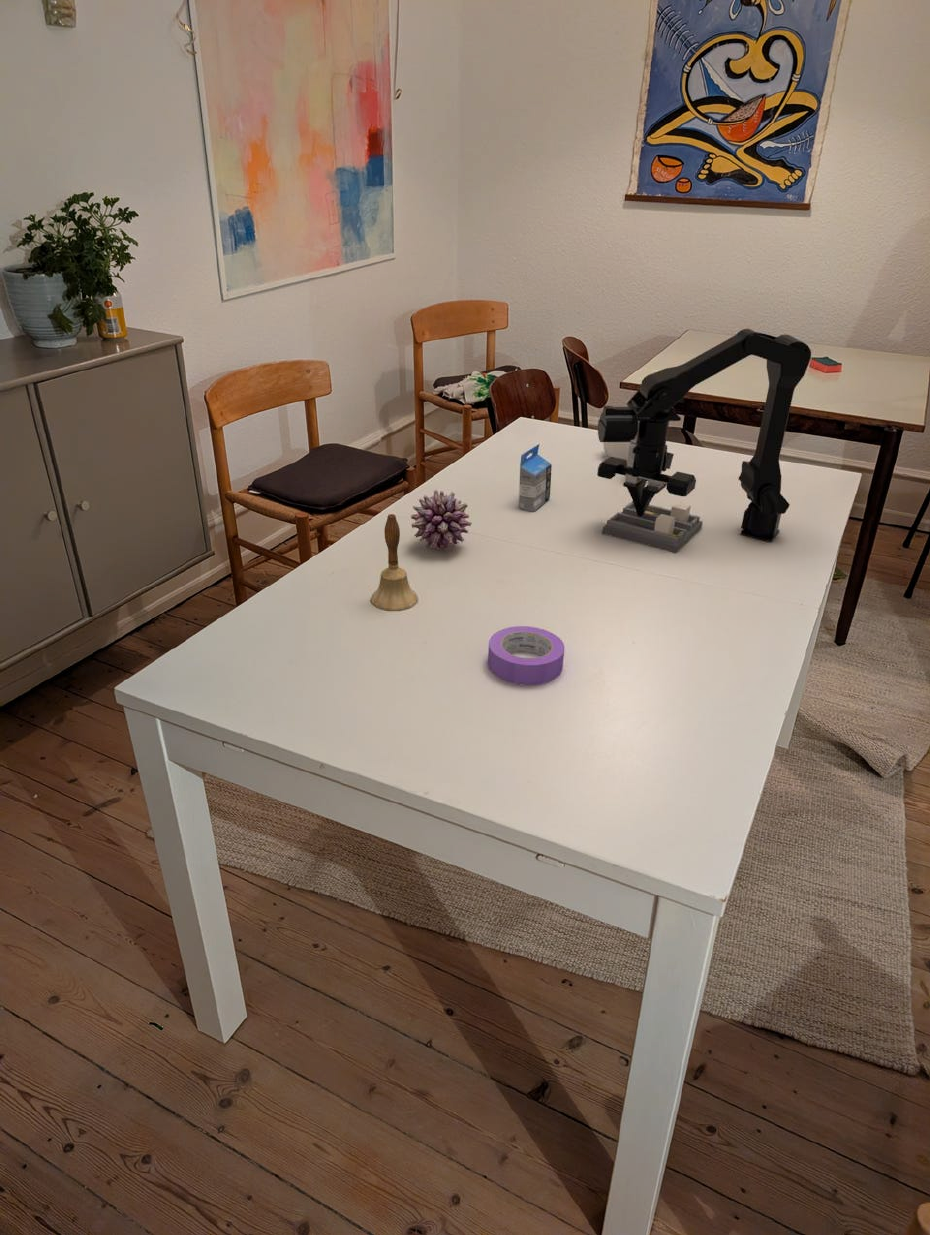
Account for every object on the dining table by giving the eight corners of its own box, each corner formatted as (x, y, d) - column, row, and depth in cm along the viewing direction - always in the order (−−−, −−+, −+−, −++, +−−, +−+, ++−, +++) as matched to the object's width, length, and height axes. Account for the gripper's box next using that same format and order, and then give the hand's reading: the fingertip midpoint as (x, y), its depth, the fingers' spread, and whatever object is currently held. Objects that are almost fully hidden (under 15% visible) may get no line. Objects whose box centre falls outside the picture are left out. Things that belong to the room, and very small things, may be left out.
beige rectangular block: (688, 520, 183) (690, 505, 181) (683, 525, 180) (685, 509, 179) (674, 517, 184) (676, 502, 182) (669, 522, 182) (671, 506, 180)
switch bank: (701, 528, 184) (703, 516, 182) (676, 553, 173) (678, 540, 171) (630, 510, 191) (632, 498, 190) (602, 533, 180) (603, 521, 179)
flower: (464, 564, 166) (466, 506, 160) (403, 557, 168) (402, 499, 162) (476, 539, 176) (478, 484, 170) (418, 533, 177) (418, 477, 171)
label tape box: (533, 512, 188) (537, 458, 182) (516, 508, 190) (520, 454, 184) (550, 499, 195) (554, 446, 189) (533, 496, 197) (537, 443, 191)
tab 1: (673, 533, 177) (675, 517, 175) (667, 538, 175) (670, 522, 173) (659, 529, 178) (661, 513, 176) (653, 534, 176) (655, 518, 174)
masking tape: (517, 637, 143) (518, 617, 142) (577, 663, 137) (579, 642, 135) (472, 666, 135) (473, 645, 134) (533, 695, 129) (535, 673, 127)
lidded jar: (592, 455, 222) (596, 419, 217) (627, 450, 226) (632, 414, 221) (615, 469, 213) (620, 431, 209) (651, 463, 218) (657, 427, 213)
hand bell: (375, 613, 149) (372, 527, 141) (366, 591, 155) (364, 507, 148) (422, 608, 151) (423, 523, 143) (412, 586, 158) (412, 504, 150)
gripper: (711, 440, 171) (698, 514, 179) (623, 422, 180) (614, 493, 188) (691, 455, 163) (678, 532, 171) (600, 436, 172) (592, 509, 179)
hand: (640, 515), depth 177 cm, fingers closed
